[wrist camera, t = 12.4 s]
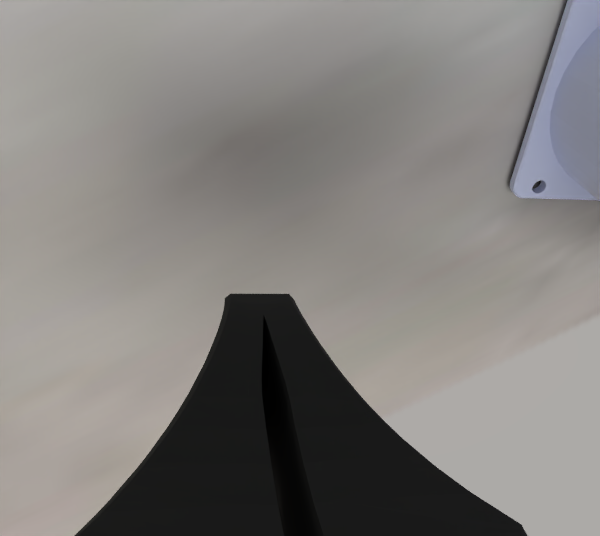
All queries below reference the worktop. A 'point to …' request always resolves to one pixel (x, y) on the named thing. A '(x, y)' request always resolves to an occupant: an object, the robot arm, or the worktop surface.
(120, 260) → the worktop surface
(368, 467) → the robot arm
